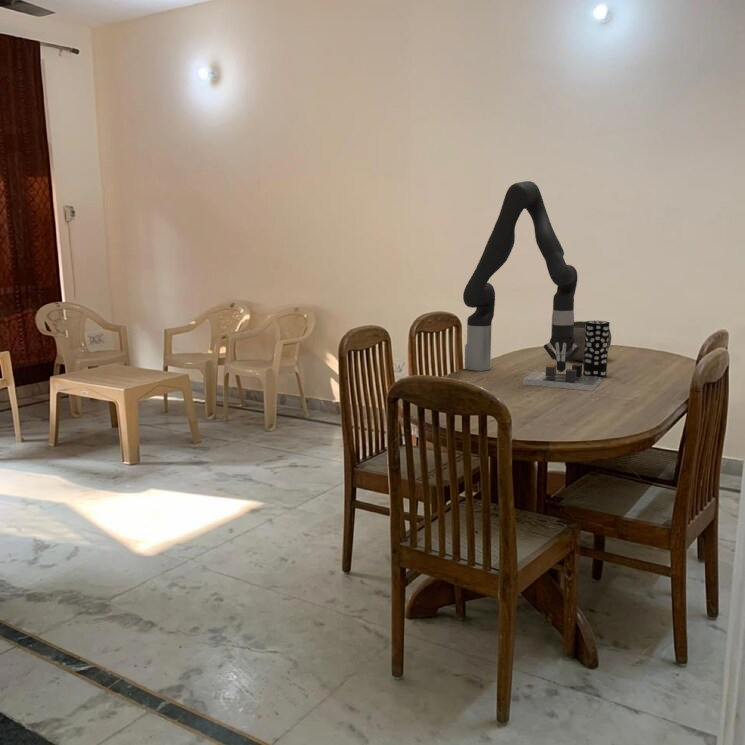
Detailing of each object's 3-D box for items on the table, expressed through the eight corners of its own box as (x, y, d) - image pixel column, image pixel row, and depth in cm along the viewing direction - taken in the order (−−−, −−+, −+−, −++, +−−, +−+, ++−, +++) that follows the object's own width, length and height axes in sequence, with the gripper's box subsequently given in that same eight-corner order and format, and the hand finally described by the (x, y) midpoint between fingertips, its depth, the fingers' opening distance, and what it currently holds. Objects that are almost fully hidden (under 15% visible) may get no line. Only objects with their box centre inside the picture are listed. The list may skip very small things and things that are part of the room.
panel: (523, 384, 271) (523, 367, 269) (533, 376, 283) (534, 360, 282) (592, 390, 260) (593, 373, 259) (600, 382, 273) (601, 365, 271)
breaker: (545, 376, 272) (546, 364, 271) (547, 374, 275) (548, 363, 274) (554, 376, 271) (554, 365, 270) (556, 375, 273) (556, 364, 273)
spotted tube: (607, 378, 279) (610, 324, 275) (583, 377, 281) (586, 323, 277) (605, 373, 287) (608, 320, 283) (582, 373, 289) (585, 320, 285)
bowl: (550, 361, 311) (551, 324, 308) (566, 353, 329) (568, 318, 325) (601, 366, 301) (604, 328, 297) (615, 357, 318) (618, 322, 315)
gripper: (541, 323, 267) (539, 372, 271) (579, 325, 261) (577, 375, 265) (546, 320, 274) (545, 368, 277) (584, 322, 268) (582, 370, 271)
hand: (561, 371), depth 271 cm, fingers closed
